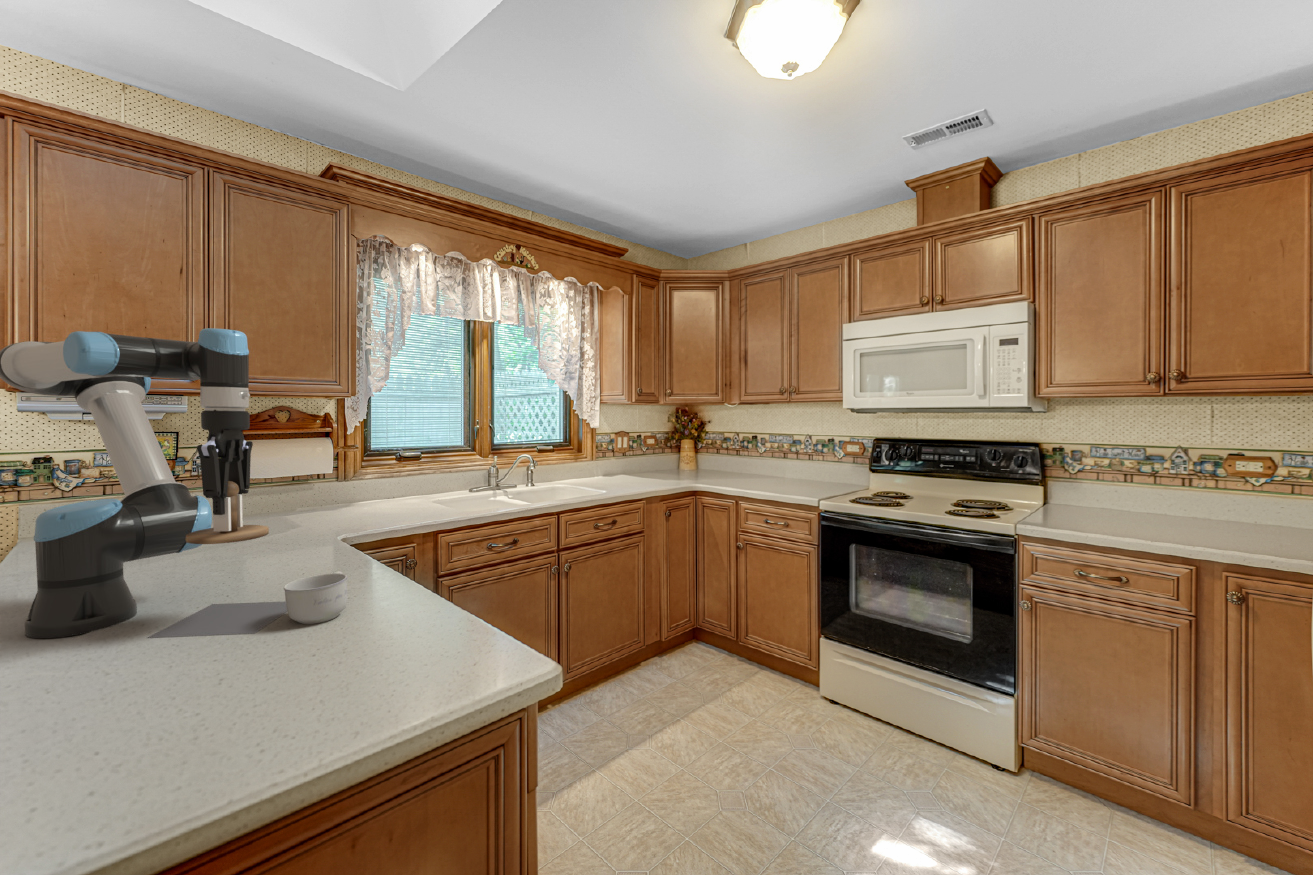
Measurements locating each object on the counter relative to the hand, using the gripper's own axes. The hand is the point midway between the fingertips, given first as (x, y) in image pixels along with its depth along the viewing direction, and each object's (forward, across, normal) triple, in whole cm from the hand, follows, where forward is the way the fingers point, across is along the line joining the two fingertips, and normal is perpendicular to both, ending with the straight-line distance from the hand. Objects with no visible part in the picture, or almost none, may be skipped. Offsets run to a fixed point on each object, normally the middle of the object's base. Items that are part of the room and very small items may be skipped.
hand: (228, 528), depth 110 cm
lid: (+2, 0, 0) cm, 2 cm away
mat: (+18, 0, 0) cm, 18 cm away
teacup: (+18, 0, -17) cm, 25 cm away
